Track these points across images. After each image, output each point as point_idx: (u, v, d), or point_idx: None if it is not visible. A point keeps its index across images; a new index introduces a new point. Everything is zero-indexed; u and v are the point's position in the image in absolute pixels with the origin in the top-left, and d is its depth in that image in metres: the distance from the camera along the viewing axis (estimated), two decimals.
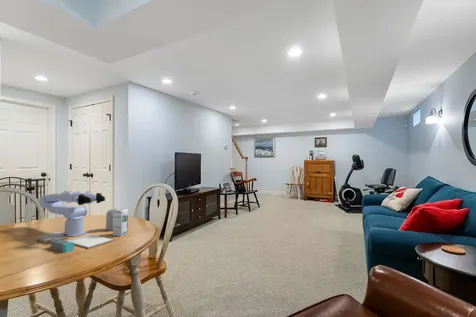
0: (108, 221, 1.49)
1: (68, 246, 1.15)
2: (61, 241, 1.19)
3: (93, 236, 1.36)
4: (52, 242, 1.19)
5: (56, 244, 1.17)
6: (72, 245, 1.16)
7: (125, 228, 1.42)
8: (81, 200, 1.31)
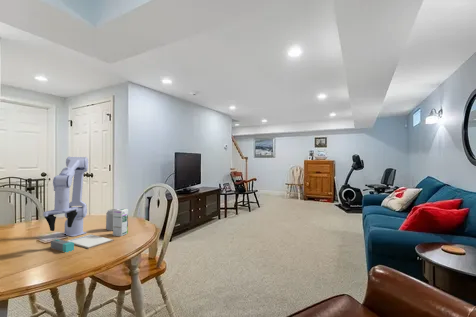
0: (108, 221, 1.49)
1: (68, 246, 1.15)
2: (61, 241, 1.19)
3: (93, 236, 1.36)
4: (52, 242, 1.19)
5: (56, 244, 1.17)
6: (72, 245, 1.16)
7: (125, 228, 1.42)
8: None
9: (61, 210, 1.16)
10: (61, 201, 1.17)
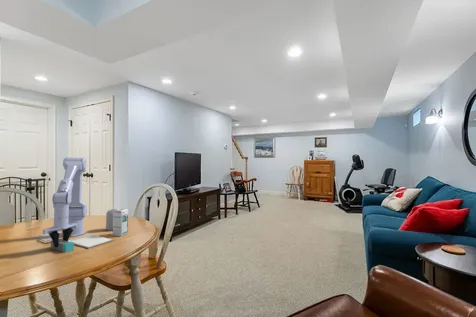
0: (108, 221, 1.49)
1: (68, 246, 1.15)
2: (61, 241, 1.19)
3: (93, 236, 1.36)
4: (52, 242, 1.19)
5: None
6: (72, 245, 1.16)
7: (125, 228, 1.42)
8: None
9: (60, 227, 1.16)
10: (60, 218, 1.16)
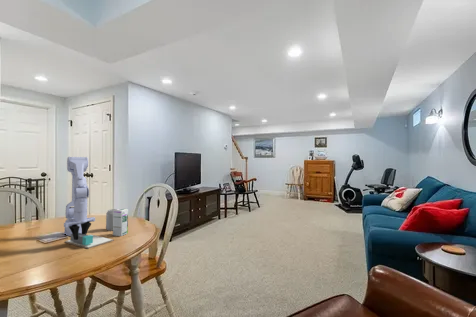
0: (108, 221, 1.49)
1: (88, 239, 1.21)
2: (80, 234, 1.25)
3: (93, 236, 1.36)
4: (72, 235, 1.25)
5: None
6: (91, 238, 1.23)
7: (125, 228, 1.42)
8: None
9: (80, 221, 1.23)
10: (80, 212, 1.23)
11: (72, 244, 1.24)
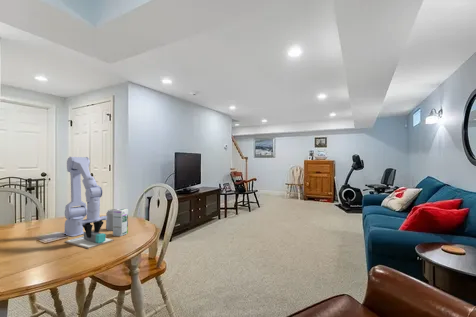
0: (108, 221, 1.49)
1: (101, 237, 1.25)
2: (93, 232, 1.29)
3: None
4: (85, 233, 1.29)
5: None
6: (104, 236, 1.26)
7: (125, 228, 1.42)
8: None
9: (93, 219, 1.26)
10: (93, 211, 1.26)
11: (72, 244, 1.24)
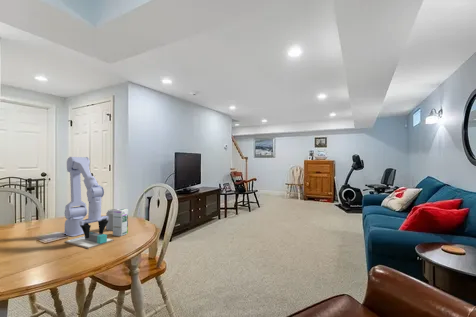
0: (108, 221, 1.49)
1: (102, 238, 1.26)
2: (95, 233, 1.30)
3: None
4: None
5: (90, 236, 1.28)
6: (105, 237, 1.27)
7: (125, 228, 1.42)
8: None
9: (95, 219, 1.27)
10: (95, 211, 1.27)
11: (72, 244, 1.24)
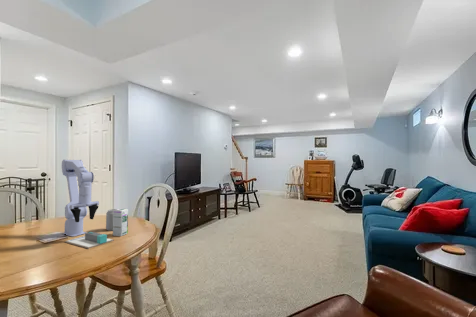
0: (108, 221, 1.49)
1: (102, 238, 1.26)
2: (95, 233, 1.30)
3: None
4: (86, 234, 1.30)
5: (90, 236, 1.28)
6: (105, 237, 1.27)
7: (125, 228, 1.42)
8: None
9: (85, 203, 1.29)
10: (85, 195, 1.29)
11: (72, 244, 1.24)
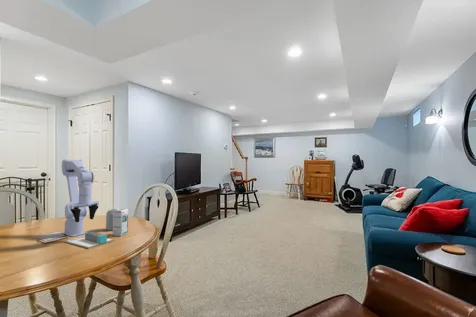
0: (108, 221, 1.49)
1: (102, 238, 1.26)
2: (95, 233, 1.30)
3: None
4: (86, 234, 1.30)
5: (90, 236, 1.28)
6: (105, 237, 1.27)
7: (125, 228, 1.42)
8: None
9: (85, 203, 1.29)
10: (85, 195, 1.29)
11: (72, 244, 1.24)
